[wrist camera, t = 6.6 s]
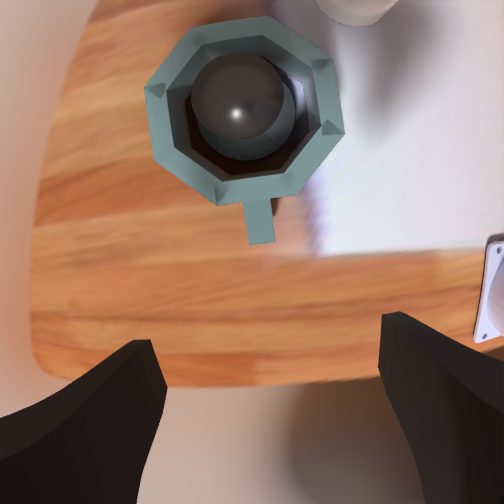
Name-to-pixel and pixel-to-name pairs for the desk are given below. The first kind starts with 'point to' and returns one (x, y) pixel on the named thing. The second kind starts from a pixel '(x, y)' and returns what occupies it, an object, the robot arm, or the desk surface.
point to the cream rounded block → (355, 11)
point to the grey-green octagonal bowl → (203, 170)
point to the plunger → (242, 106)
